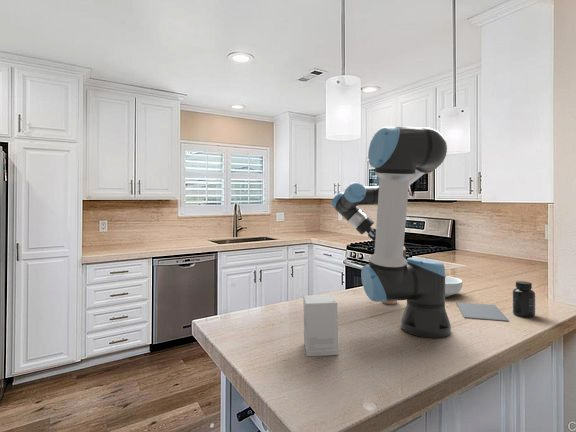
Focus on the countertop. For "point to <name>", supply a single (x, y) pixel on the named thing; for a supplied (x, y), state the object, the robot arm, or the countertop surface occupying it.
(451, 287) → the cereal bowl
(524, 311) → the supplement bottle
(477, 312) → the slate mat
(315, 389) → the countertop surface
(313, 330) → the supplement box
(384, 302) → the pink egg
